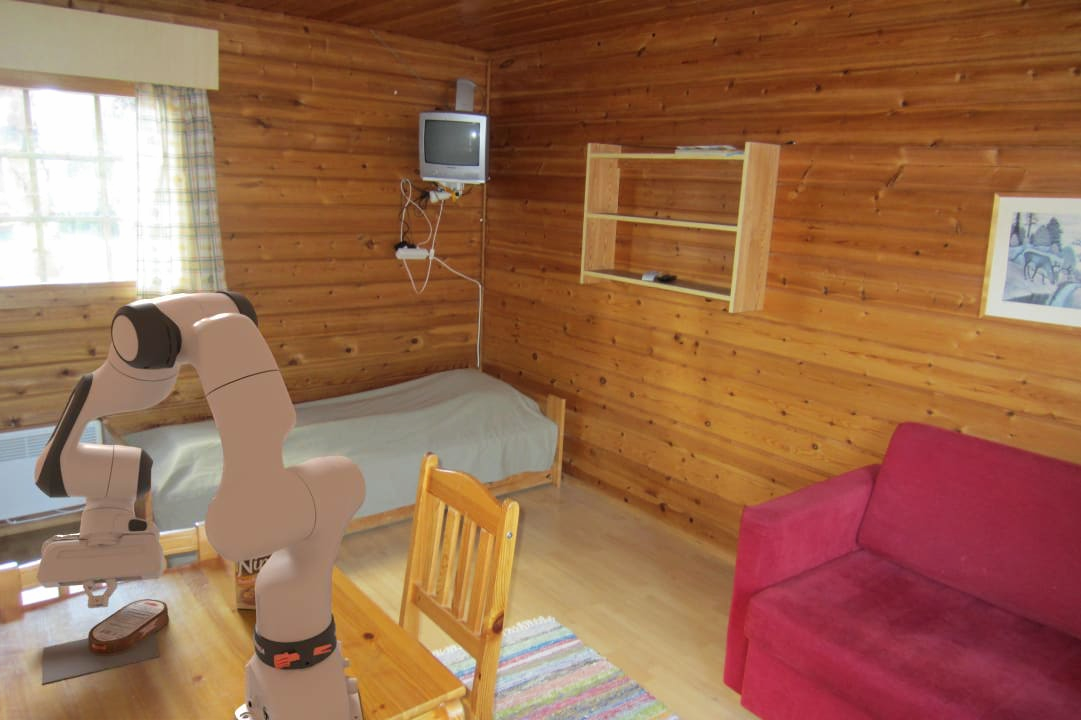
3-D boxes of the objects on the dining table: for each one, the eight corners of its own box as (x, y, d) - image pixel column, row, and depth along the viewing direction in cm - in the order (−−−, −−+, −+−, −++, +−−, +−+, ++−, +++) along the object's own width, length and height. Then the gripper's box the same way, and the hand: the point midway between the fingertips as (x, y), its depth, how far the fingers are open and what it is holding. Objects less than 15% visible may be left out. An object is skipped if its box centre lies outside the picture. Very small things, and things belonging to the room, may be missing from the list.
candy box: (235, 609, 154) (231, 534, 150) (244, 598, 158) (240, 525, 154) (281, 612, 153) (278, 537, 150) (289, 600, 157) (286, 527, 154)
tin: (76, 650, 139) (118, 662, 137) (76, 634, 138) (118, 646, 136) (140, 606, 153) (178, 617, 151) (140, 592, 152) (178, 602, 150)
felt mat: (158, 656, 138) (158, 655, 138) (42, 684, 130) (42, 683, 130) (153, 624, 147) (153, 623, 147) (43, 648, 139) (43, 647, 139)
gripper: (38, 530, 145) (25, 608, 138) (162, 521, 150) (156, 596, 143) (49, 542, 150) (37, 617, 143) (168, 533, 155) (162, 606, 148)
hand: (97, 607), depth 143 cm, fingers closed
